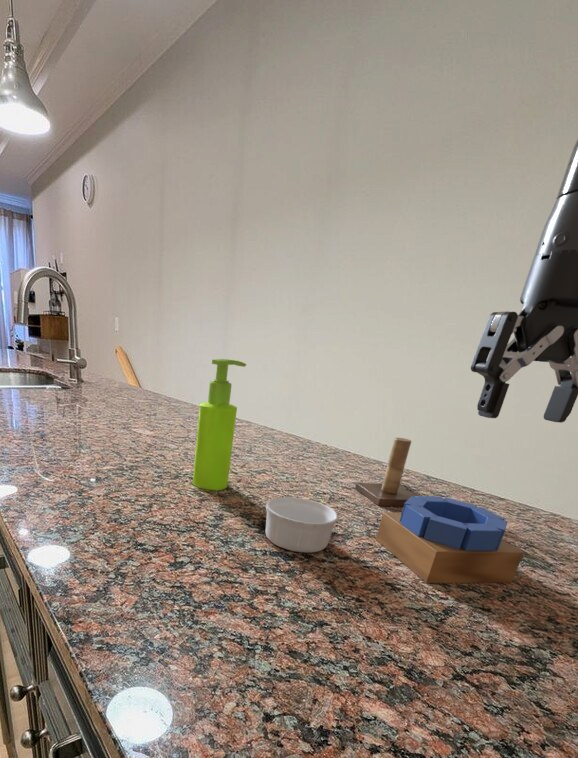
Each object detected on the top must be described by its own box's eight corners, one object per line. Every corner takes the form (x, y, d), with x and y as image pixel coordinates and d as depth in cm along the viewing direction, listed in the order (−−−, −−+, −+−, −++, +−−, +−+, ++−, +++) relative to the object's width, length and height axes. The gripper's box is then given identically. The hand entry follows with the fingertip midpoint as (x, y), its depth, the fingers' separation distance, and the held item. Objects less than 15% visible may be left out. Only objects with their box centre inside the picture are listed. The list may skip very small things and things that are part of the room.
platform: (448, 540, 62) (457, 513, 60) (511, 583, 52) (524, 552, 50) (375, 539, 60) (382, 512, 58) (426, 583, 50) (437, 551, 48)
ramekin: (279, 520, 63) (284, 491, 61) (340, 540, 59) (347, 509, 57) (249, 539, 56) (253, 507, 55) (315, 564, 52) (323, 530, 50)
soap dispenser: (239, 486, 75) (255, 362, 67) (206, 492, 71) (219, 360, 64) (218, 476, 79) (231, 358, 72) (186, 480, 76) (196, 356, 68)
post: (395, 490, 81) (410, 435, 77) (422, 507, 74) (440, 446, 70) (354, 488, 80) (368, 432, 76) (378, 505, 72) (394, 444, 69)
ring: (457, 514, 60) (463, 497, 59) (521, 551, 50) (529, 531, 49) (385, 512, 58) (390, 494, 57) (437, 550, 48) (444, 529, 48)
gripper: (603, 266, 48) (545, 416, 54) (488, 249, 46) (441, 409, 52) (683, 256, 41) (606, 430, 47) (552, 237, 39) (489, 422, 45)
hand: (520, 419), depth 50 cm, fingers open, 8 cm apart
